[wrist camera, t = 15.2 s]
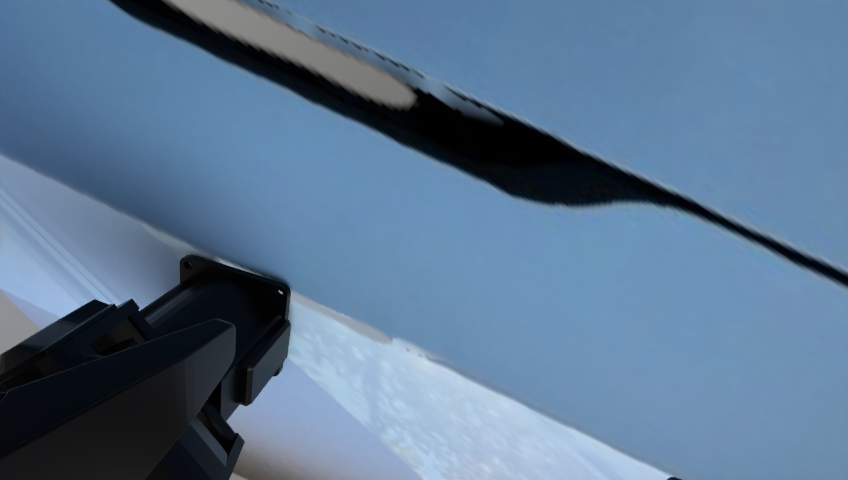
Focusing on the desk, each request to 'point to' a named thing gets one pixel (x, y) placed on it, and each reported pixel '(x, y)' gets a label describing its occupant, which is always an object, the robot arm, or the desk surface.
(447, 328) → the desk surface
